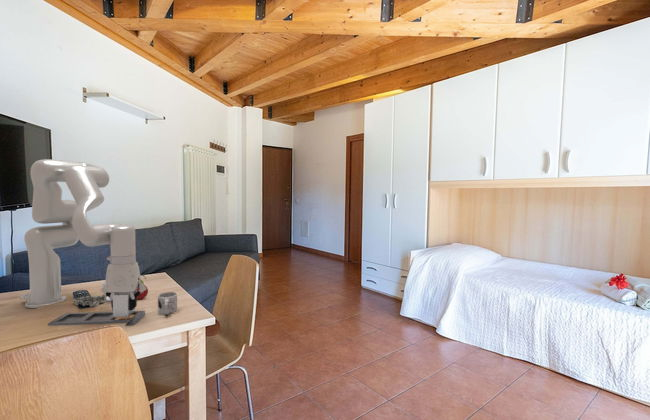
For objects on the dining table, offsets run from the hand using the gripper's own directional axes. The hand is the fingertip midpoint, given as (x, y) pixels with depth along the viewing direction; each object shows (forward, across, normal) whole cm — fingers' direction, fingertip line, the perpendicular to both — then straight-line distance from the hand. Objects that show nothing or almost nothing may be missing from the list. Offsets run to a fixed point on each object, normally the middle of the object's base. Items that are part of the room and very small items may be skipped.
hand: (124, 308), depth 113 cm
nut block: (+2, 0, 0) cm, 2 cm away
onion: (+5, -3, +21) cm, 22 cm away
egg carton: (+5, -20, +17) cm, 27 cm away
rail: (+4, -8, 0) cm, 9 cm away
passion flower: (+5, -15, +38) cm, 41 cm away
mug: (+5, +13, +6) cm, 15 cm away
